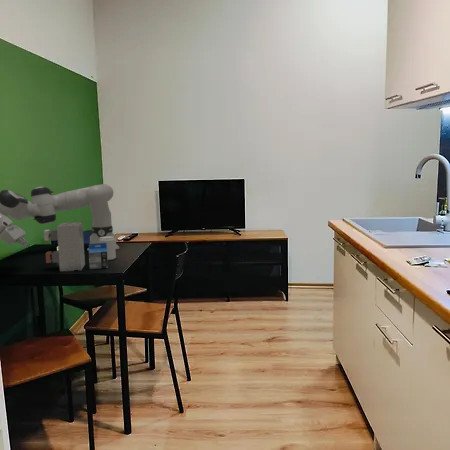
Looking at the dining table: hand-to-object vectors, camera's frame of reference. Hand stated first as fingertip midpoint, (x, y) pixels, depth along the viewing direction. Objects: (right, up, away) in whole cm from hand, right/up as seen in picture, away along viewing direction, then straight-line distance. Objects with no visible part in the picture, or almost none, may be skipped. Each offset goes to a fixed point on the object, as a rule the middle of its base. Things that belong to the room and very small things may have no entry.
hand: (26, 245), depth 228 cm
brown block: (+12, -8, +3) cm, 15 cm away
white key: (+11, +3, +1) cm, 12 cm away
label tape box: (+34, -12, +3) cm, 36 cm away
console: (+19, -11, +5) cm, 23 cm away
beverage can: (+34, -9, +24) cm, 42 cm away
